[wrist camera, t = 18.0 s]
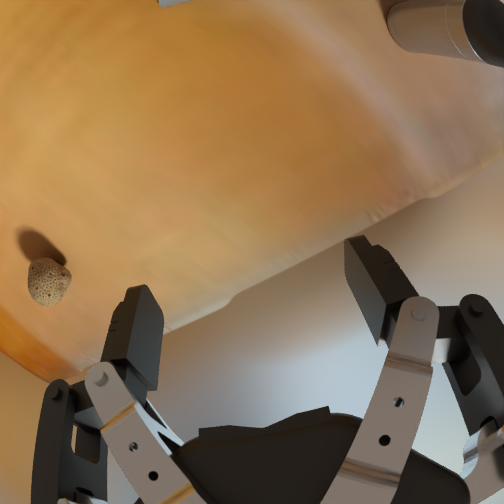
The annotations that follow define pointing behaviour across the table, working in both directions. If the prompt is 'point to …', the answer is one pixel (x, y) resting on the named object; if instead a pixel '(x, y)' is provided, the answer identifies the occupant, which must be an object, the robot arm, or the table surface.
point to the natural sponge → (47, 281)
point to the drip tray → (170, 2)
